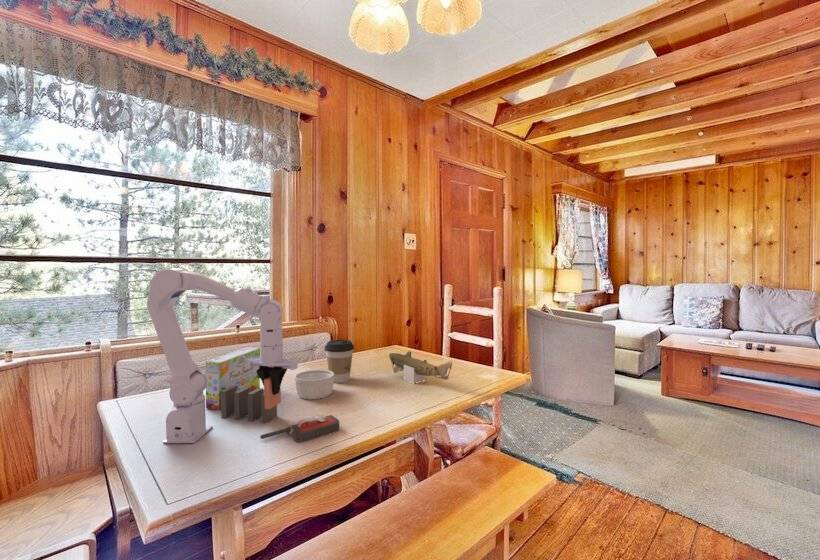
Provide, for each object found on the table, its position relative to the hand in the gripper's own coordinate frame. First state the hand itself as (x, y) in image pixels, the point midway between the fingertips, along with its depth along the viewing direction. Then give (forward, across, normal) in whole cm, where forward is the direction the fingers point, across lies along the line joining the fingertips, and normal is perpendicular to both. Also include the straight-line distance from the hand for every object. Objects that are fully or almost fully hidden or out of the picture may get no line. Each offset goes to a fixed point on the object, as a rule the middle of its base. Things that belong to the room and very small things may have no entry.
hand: (272, 393), depth 105 cm
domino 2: (+10, +13, -4) cm, 17 cm away
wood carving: (+10, -30, -49) cm, 58 cm away
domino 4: (+10, +4, -4) cm, 11 cm away
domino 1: (+10, +18, -4) cm, 20 cm away
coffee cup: (+10, 0, -43) cm, 44 cm away
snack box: (+10, +26, -17) cm, 32 cm away
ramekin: (+10, +2, -27) cm, 28 cm away
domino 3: (+10, +9, -4) cm, 13 cm away
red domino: (+3, 0, 0) cm, 3 cm away
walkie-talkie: (+10, -10, +2) cm, 15 cm away
